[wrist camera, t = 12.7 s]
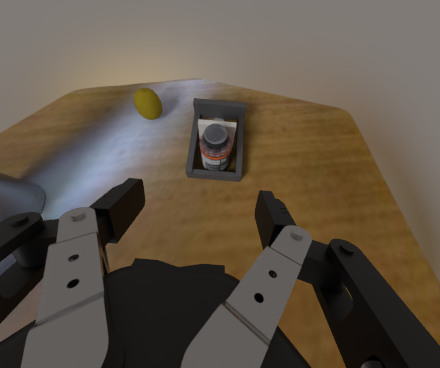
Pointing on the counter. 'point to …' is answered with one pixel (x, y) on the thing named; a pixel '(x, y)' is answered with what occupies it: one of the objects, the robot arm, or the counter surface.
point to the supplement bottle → (215, 148)
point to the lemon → (148, 103)
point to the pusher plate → (228, 125)
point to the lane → (222, 112)
